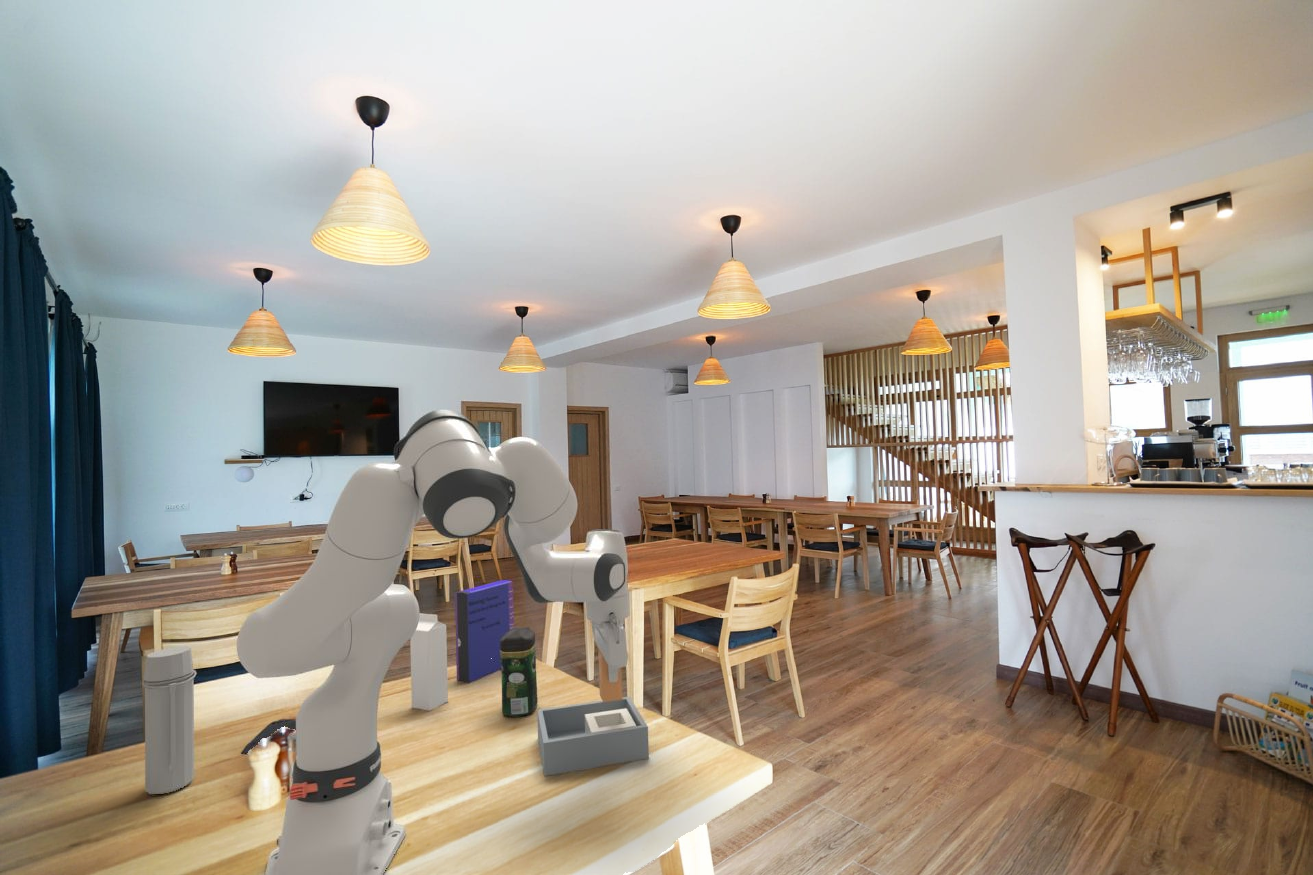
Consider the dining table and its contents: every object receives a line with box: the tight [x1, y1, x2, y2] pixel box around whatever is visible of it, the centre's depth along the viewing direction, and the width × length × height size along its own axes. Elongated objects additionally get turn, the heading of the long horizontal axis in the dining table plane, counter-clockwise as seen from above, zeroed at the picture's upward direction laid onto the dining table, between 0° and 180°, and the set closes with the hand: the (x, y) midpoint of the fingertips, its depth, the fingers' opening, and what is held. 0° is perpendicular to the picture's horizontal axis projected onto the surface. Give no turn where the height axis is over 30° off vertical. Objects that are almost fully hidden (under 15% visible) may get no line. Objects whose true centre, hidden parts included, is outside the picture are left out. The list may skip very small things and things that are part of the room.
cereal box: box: [454, 579, 515, 684], centre depth 170 cm, size 17×5×24 cm, turn 150°
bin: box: [536, 696, 650, 777], centre depth 122 cm, size 16×20×6 cm
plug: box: [597, 650, 624, 702], centre depth 123 cm, size 4×4×10 cm
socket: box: [585, 708, 636, 734], centre depth 123 cm, size 9×9×4 cm
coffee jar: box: [500, 626, 538, 718], centre depth 143 cm, size 10×8×19 cm
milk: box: [409, 612, 449, 712], centre depth 148 cm, size 6×6×22 cm
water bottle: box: [141, 646, 197, 795], centre depth 112 cm, size 9×8×25 cm
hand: (610, 676), depth 123 cm, fingers closed on plug, 4 cm apart
